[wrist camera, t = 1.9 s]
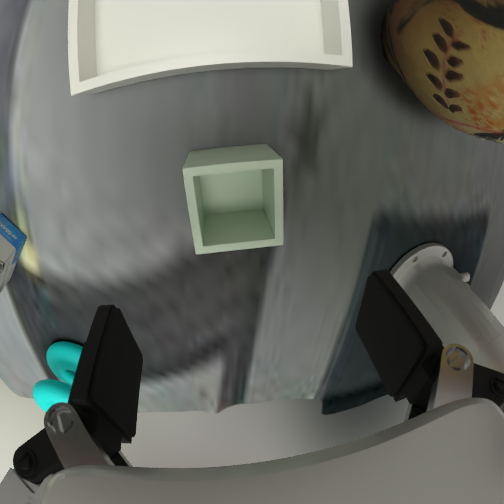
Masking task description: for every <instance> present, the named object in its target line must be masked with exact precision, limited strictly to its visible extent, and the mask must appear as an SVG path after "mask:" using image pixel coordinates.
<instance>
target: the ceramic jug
mask: <svg viewBox="0 0 504 504" xmlns="http://www.w3.org/2000/svg"><path fill="white" fill-rule="evenodd" d="M381 42H382V49H383V54H384V57H385V58H386V59H387V60H388V61H389V62H390V63H391V64H392V66H393V68H394V70H395V71H396V72H397V73H398V74H399V75H400V76H401V78H403V80H404V81H405V83H406V84H407V86H408V87H409V88H410V90H411V91H412V92H413V94H414V95H415V96H416V97H417V99H418V100H419V101H420V102H421V103H422V104H423V105H424V106H425V107H426V108H427V109H428V110H429V111H430V112H432V113H433V114H434V115H435V116H437V117H438V118H439V119H441V120H442V121H444V122H445V123H447V124H448V125H450V126H452V127H454V128H456V129H458V130H460V131H462V132H464V133H467V134H469V135H472V136H476V137H477V138H479V139H482V140H490V141H494V142H498V143H504V0H390V3H389V7H388V11H387V12H386V13H385V14H384V15H383V21H382V31H381Z"/></svg>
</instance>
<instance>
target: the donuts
mask: <svg viewBox="0 0 504 504" xmlns="http://www.w3.org/2000/svg"><path fill="white" fill-rule="evenodd" d="M82 348H83V346H80V345H78V344H75V343H72V342H65V341H61V342H56V343H54V344H52V345H51V346H50V347H49V348H48V351H47V362H48V365H49V367H50V369H51V370H52V372H53V373H54V374H55V375H56V376H57V377H58V378H59V379H61V380H62V381H63V382H61V381H57V380H51V379H46V380H41V381H39V382H37V383H36V384H35V386H34V388H33V397H34V399H35V401H36V403H37V404H38V405H39V407H40V408H41V409H42V410H44V411H45V412H47V410H48V409H49V408H50V407H51V406H52V405H54V404H56V403H59V402H65V403H68V399H69V395H70V391H71V387H72V383H73V379H74V376H75V372H76V368H77V365H78V362H79V358H80V355H81V352H82ZM64 382H65V383H64Z"/></svg>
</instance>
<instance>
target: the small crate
mask: <svg viewBox="0 0 504 504" xmlns="http://www.w3.org/2000/svg"><path fill="white" fill-rule="evenodd" d="M183 177H184V184H185V191H186V197H187V204H188V210H189V216H190V222H191V228H192V234H193V240H194V246H195V251H196V254H205V253H214V252H223V251H232V250H241V249H250V248H259V247H268V246H278V245H283V159H282V158H281V157H280V156H279V155H278V154H277V153H276V152H275V151H274V150H273V149H272V148H270V147H269V146H268V145H267V144H256V145H242V146H231V147H220V148H211V149H202V150H194V151H190V152H189V154H188V157H187V159H186V161H185V164H184V166H183Z"/></svg>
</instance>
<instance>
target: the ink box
mask: <svg viewBox="0 0 504 504" xmlns="http://www.w3.org/2000/svg"><path fill="white" fill-rule="evenodd" d="M25 240H26V236H25V235H24V234H23V233H22V232H21V231H20V230H19V229H17V228H16V227H15V226H14V225H13V224H12V223H11V222H10V221H9V220H8V219H7V218H6V217H5V216H4V215H2V214H0V292H1V291H2V289H3V288H4V286H5V285H6V284H7V282H8V281H9V280H10V278H11V276H12V273H13V270H14V268H15V265H16V262H17V260H18V257H19V255H20V252H21V250H22V247H23V245H24V243H25Z"/></svg>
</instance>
